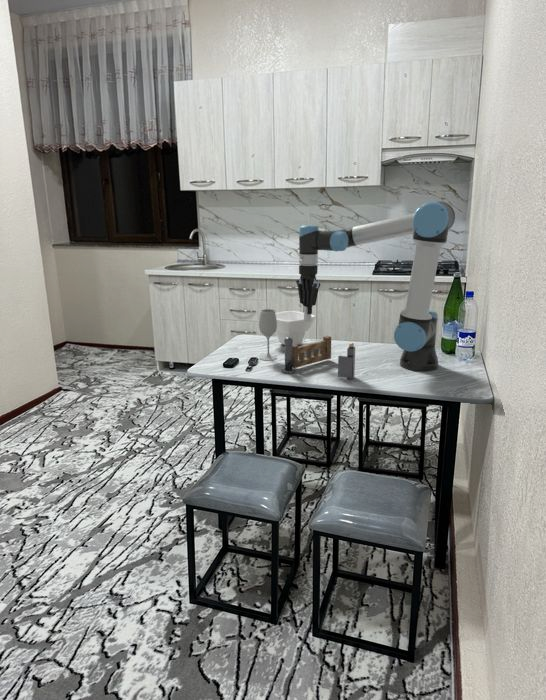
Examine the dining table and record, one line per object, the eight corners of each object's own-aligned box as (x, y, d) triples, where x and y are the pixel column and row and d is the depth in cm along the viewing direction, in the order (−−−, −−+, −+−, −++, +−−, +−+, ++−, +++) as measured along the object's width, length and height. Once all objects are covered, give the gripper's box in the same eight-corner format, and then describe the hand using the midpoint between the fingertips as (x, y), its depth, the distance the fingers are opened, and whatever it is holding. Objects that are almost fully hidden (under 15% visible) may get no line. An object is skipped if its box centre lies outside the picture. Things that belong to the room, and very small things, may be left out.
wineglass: (275, 361, 221) (274, 312, 215) (257, 360, 223) (256, 312, 217) (278, 356, 228) (278, 309, 222) (261, 355, 230) (260, 308, 224)
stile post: (354, 376, 201) (355, 342, 197) (351, 380, 196) (352, 345, 193) (340, 375, 202) (341, 341, 199) (337, 379, 198) (338, 344, 195)
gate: (294, 368, 208) (294, 345, 206) (290, 367, 210) (290, 344, 208) (330, 358, 221) (331, 336, 218) (326, 357, 223) (327, 335, 220)
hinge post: (298, 369, 210) (298, 336, 206) (293, 374, 204) (293, 339, 201) (284, 368, 212) (283, 334, 208) (279, 372, 206) (278, 338, 203)
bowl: (291, 337, 259) (291, 309, 255) (319, 345, 245) (319, 316, 241) (262, 344, 248) (261, 315, 244) (289, 352, 234) (289, 322, 230)
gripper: (291, 263, 214) (290, 319, 221) (311, 266, 204) (310, 325, 211) (305, 262, 218) (304, 317, 225) (325, 265, 208) (324, 323, 215)
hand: (307, 321), depth 218 cm, fingers closed
